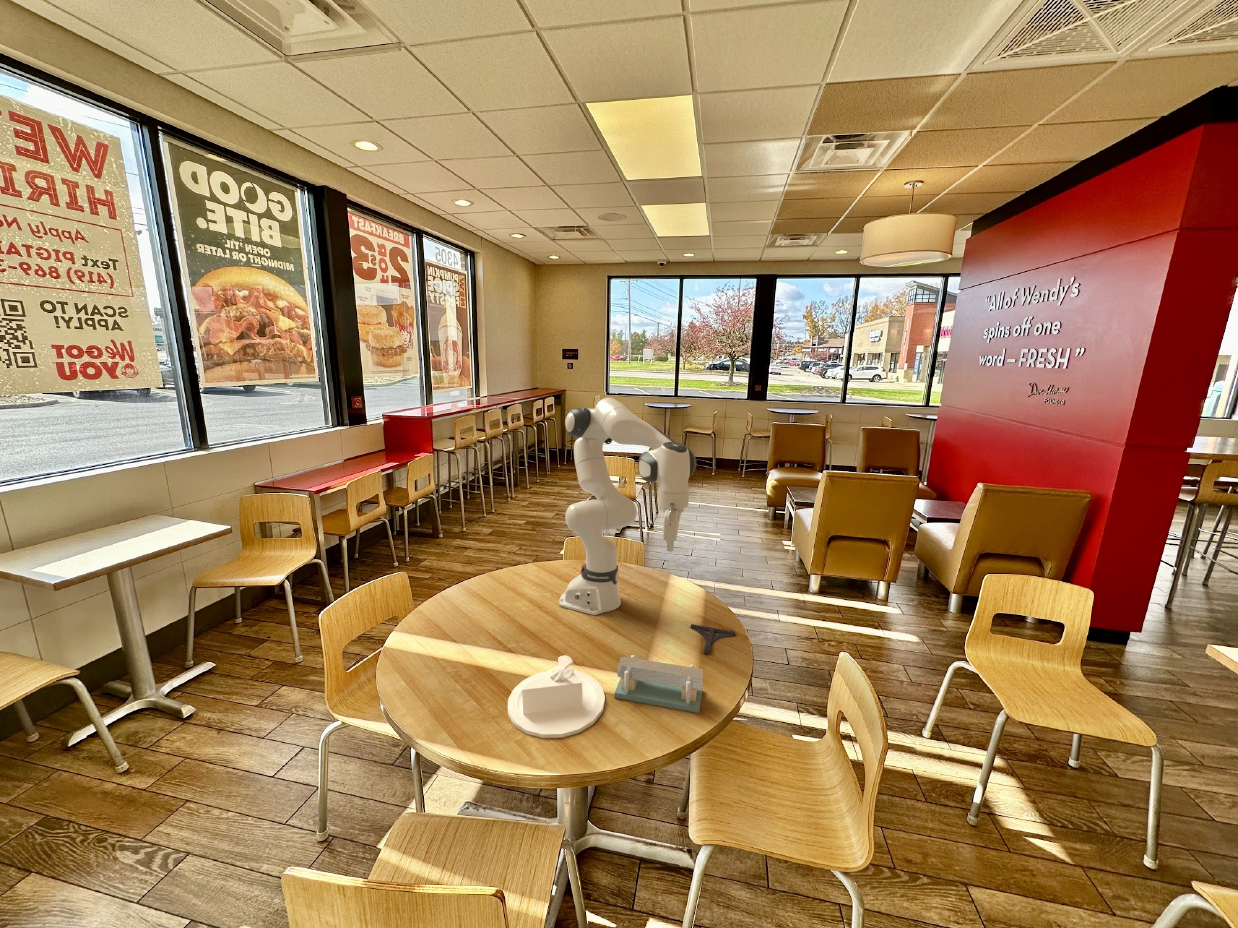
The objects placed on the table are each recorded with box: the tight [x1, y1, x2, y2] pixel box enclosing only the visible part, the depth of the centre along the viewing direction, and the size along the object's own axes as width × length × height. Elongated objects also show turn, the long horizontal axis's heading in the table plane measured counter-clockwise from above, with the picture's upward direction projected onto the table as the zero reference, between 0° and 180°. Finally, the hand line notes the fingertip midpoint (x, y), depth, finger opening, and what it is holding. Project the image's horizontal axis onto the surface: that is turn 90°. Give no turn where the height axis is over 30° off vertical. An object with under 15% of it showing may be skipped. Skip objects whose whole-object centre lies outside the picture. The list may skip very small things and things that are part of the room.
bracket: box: [690, 623, 736, 656], centre depth 156 cm, size 14×15×3 cm
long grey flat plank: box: [617, 655, 704, 691], centre depth 130 cm, size 22×4×4 cm, turn 76°
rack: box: [614, 654, 704, 714], centre depth 130 cm, size 22×9×8 cm, turn 75°
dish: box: [507, 655, 606, 739], centre depth 127 cm, size 25×25×11 cm
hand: (671, 544), depth 145 cm, fingers open, 8 cm apart
